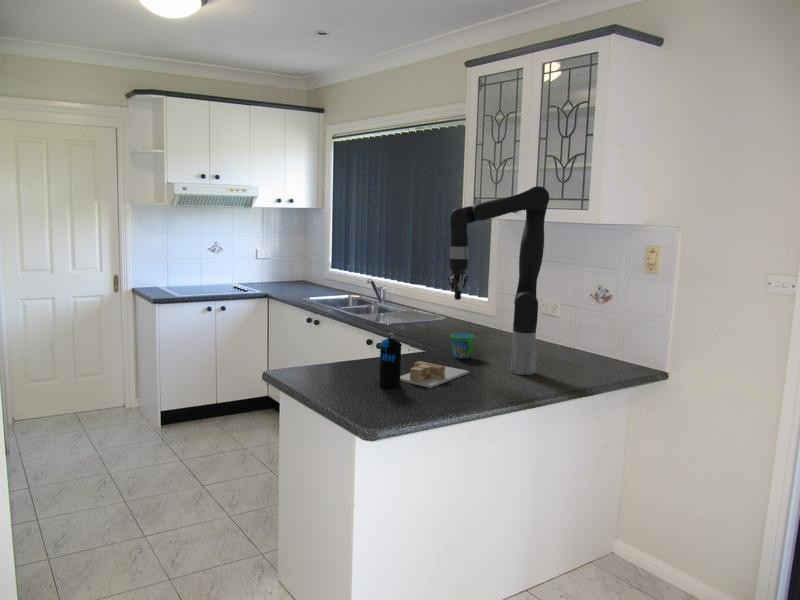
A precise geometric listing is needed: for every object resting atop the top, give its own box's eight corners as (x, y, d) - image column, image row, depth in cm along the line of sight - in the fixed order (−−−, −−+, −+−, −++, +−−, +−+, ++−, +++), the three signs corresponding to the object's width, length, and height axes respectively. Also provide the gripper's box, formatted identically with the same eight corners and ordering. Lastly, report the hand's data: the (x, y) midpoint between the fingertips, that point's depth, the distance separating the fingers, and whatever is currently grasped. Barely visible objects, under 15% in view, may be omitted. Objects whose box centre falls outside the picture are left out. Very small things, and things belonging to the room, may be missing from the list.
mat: (468, 373, 267) (468, 370, 267) (430, 387, 245) (430, 385, 245) (435, 366, 277) (435, 364, 276) (395, 380, 254) (395, 377, 254)
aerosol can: (388, 381, 252) (389, 330, 249) (405, 385, 246) (406, 333, 244) (374, 385, 245) (375, 333, 242) (391, 390, 240) (392, 336, 237)
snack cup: (480, 361, 289) (481, 338, 287) (457, 362, 285) (458, 339, 284) (466, 353, 303) (467, 331, 302) (444, 354, 300) (445, 332, 299)
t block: (419, 372, 263) (419, 361, 262) (444, 377, 256) (445, 366, 255) (401, 378, 253) (401, 366, 253) (427, 383, 246) (428, 372, 246)
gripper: (458, 259, 263) (457, 302, 265) (474, 257, 273) (473, 298, 276) (442, 257, 267) (441, 300, 269) (458, 256, 278) (457, 296, 280)
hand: (457, 299), depth 273 cm, fingers closed
